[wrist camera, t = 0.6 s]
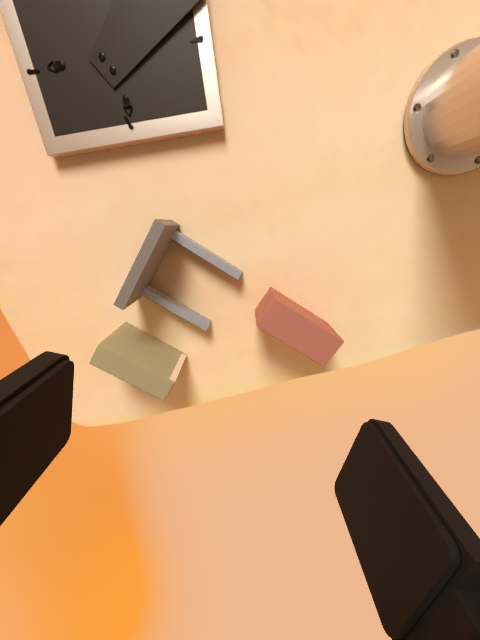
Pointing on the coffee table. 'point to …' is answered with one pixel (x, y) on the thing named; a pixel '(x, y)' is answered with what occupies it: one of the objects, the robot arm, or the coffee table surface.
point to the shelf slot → (151, 260)
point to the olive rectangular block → (139, 360)
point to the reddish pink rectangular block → (297, 327)
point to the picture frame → (115, 70)
